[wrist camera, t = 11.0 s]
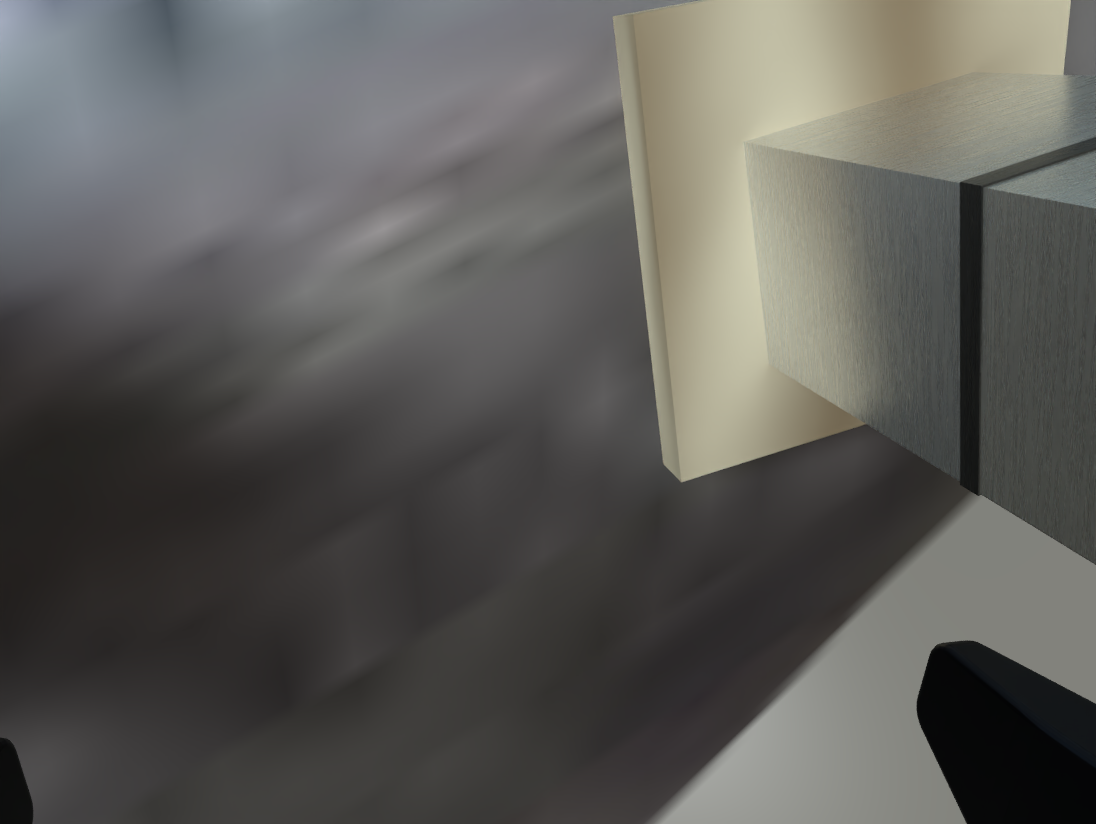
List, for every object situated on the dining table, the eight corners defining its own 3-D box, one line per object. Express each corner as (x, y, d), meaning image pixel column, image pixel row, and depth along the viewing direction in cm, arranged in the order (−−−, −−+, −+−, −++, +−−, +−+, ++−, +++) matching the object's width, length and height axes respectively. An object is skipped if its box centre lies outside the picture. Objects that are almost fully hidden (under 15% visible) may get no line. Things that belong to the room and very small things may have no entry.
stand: (631, 431, 22) (681, 482, 20) (578, 19, 18) (633, 14, 15) (949, 336, 24) (1033, 371, 22) (970, -53, 20) (1077, -68, 17)
